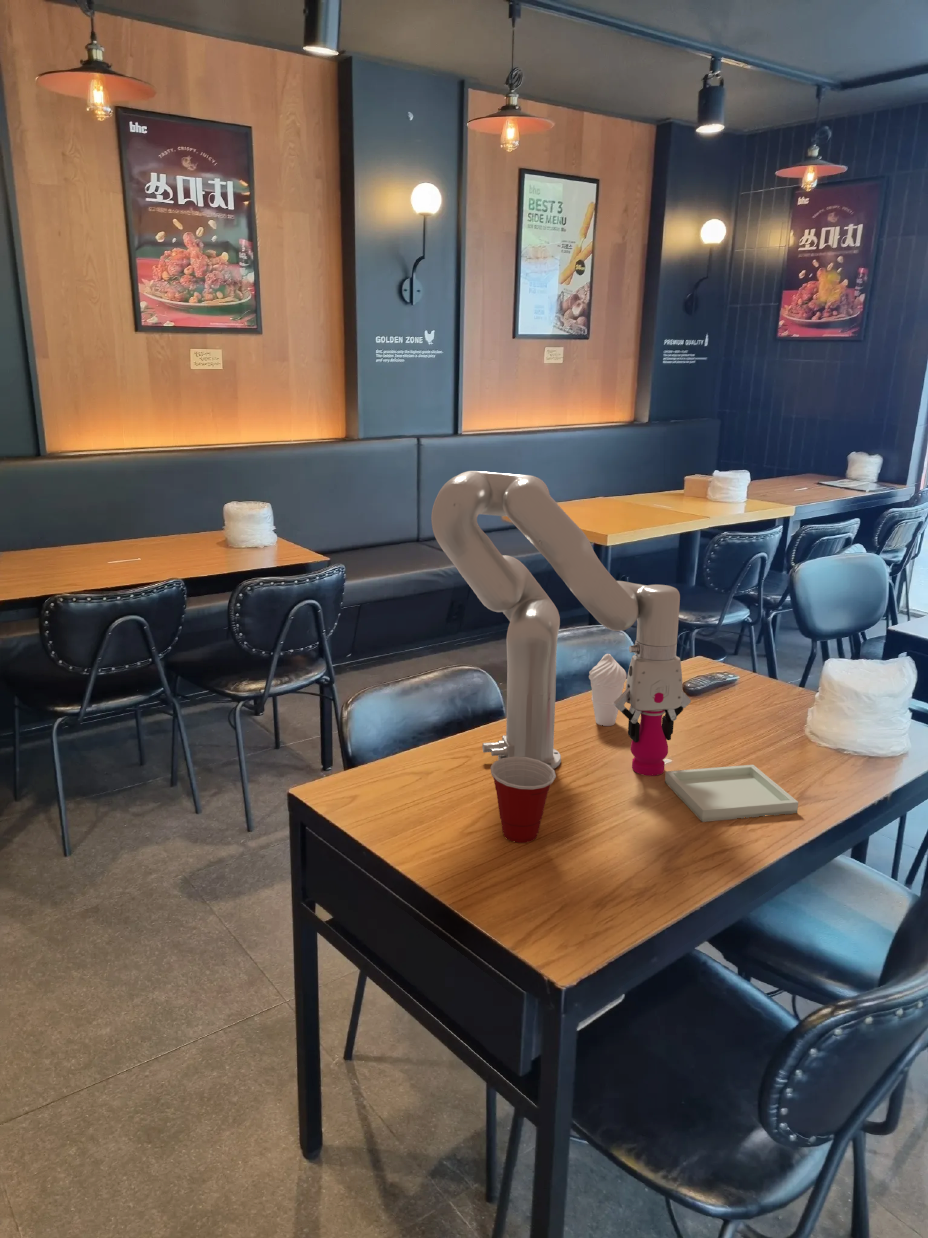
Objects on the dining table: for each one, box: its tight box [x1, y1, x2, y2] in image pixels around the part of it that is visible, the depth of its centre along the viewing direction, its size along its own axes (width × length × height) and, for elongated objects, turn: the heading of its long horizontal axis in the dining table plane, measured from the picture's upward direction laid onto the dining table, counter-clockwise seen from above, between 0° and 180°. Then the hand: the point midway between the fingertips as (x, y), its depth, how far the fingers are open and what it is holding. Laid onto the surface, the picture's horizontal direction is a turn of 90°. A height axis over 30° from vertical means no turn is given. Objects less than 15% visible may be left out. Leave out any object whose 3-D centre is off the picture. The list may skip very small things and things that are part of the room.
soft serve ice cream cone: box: [588, 653, 628, 727], centre depth 194 cm, size 8×8×16 cm
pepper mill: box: [630, 693, 669, 777], centre depth 169 cm, size 7×7×20 cm
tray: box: [664, 764, 799, 823], centre depth 160 cm, size 18×16×2 cm
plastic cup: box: [490, 757, 557, 844], centre depth 145 cm, size 11×11×12 cm
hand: (650, 737), depth 170 cm, fingers closed on pepper mill, 5 cm apart
